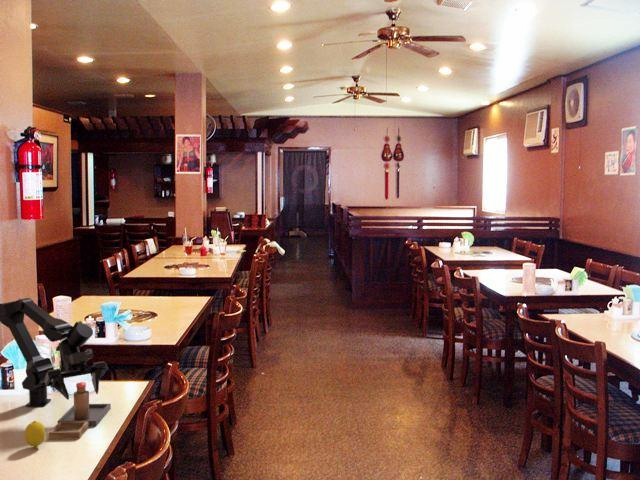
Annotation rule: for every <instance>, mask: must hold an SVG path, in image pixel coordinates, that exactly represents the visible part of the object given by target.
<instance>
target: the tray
mask: <svg viewBox="0 0 640 480" xmlns="http://www.w3.org/2000/svg"><path fill="white" fill-rule="evenodd" d="M111 406H112V405H111V403H89V419H87V420H74V404H73V405H72V406H71V407H70V408H69V409H68V410H67V411H66V412H65V413H64V414H63V415H62V416H61V417H60V418H59V419H58V420H57V424H58V423H59V422H83V421H89V427H97V426H98V425H99V424H100V422H102V420H103V419H104V418H105V417H106V416H107V414H108V412H110V410H111V409H112V408H111Z"/></svg>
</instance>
